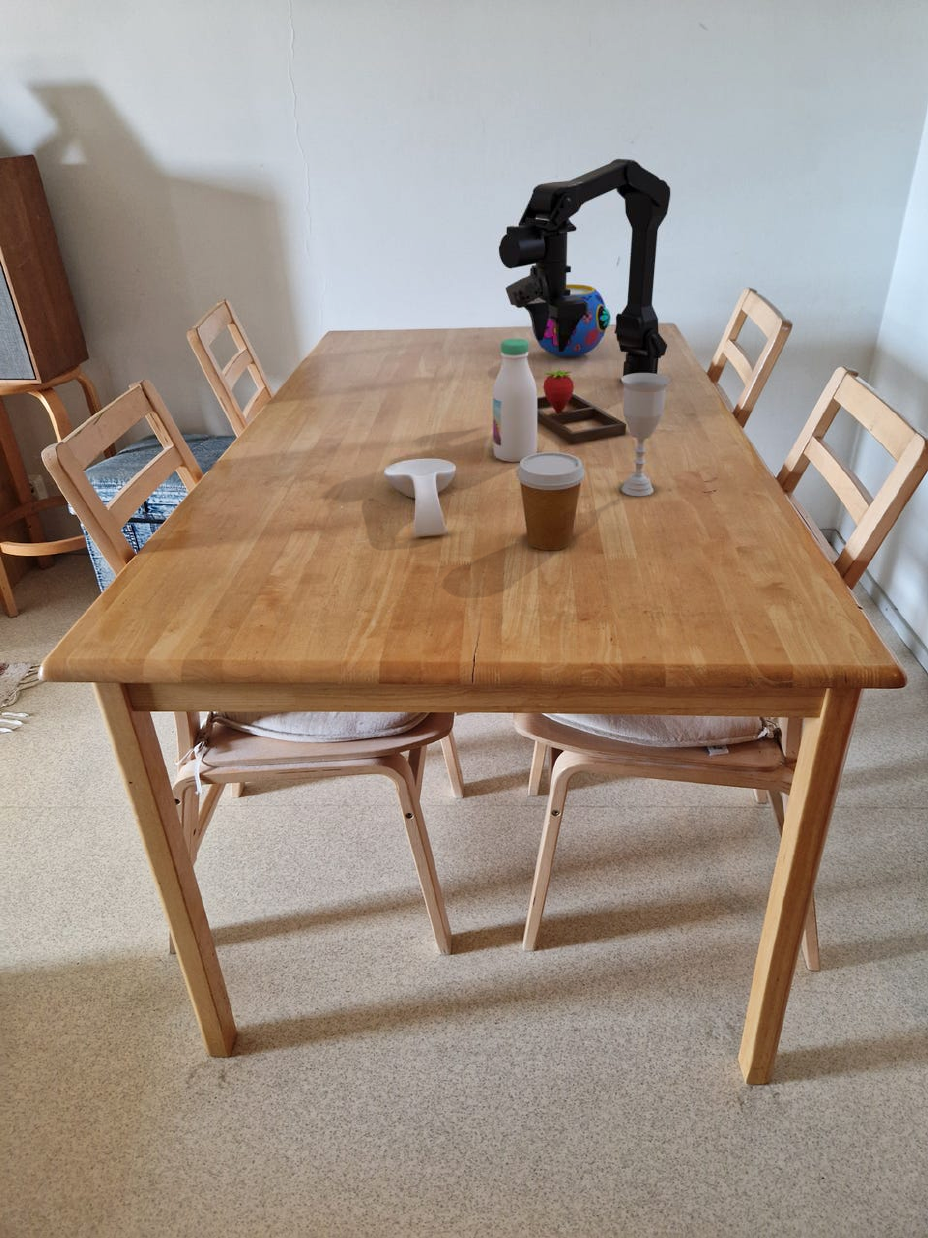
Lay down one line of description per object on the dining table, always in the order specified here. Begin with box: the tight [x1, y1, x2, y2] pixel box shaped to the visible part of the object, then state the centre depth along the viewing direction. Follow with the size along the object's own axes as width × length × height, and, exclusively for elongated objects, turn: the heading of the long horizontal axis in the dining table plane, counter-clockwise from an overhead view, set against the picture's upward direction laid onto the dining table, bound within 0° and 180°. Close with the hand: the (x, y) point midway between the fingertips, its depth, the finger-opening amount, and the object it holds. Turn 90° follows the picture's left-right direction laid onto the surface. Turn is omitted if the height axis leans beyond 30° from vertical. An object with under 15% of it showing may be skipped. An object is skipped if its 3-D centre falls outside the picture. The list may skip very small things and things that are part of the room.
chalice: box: [620, 373, 671, 497], centre depth 140 cm, size 7×7×18 cm
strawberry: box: [543, 365, 575, 413], centre depth 175 cm, size 6×8×10 cm
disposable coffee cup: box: [516, 451, 586, 551], centre depth 127 cm, size 10×10×12 cm
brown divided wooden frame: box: [537, 392, 627, 445], centre depth 173 cm, size 11×22×2 cm, turn 22°
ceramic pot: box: [531, 283, 611, 358], centre depth 210 cm, size 18×18×15 cm
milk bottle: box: [492, 338, 538, 463], centre depth 154 cm, size 8×8×20 cm
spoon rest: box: [383, 458, 457, 537], centre depth 140 cm, size 24×12×7 cm, turn 8°
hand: (550, 345), depth 172 cm, fingers open, 9 cm apart
